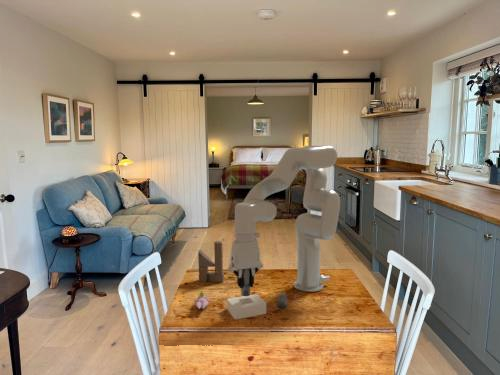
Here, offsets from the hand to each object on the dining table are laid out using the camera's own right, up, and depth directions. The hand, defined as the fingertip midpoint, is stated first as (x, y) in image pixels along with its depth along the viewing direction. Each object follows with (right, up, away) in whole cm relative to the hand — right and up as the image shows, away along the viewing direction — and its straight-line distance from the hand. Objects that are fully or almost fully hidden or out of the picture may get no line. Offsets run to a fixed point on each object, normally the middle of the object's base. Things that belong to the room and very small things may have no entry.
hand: (245, 286), depth 137 cm
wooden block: (-16, -6, +32) cm, 36 cm away
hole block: (0, -10, +1) cm, 10 cm away
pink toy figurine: (-17, -10, +6) cm, 20 cm away
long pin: (0, -3, 0) cm, 3 cm away
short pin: (+14, -9, +5) cm, 17 cm away
